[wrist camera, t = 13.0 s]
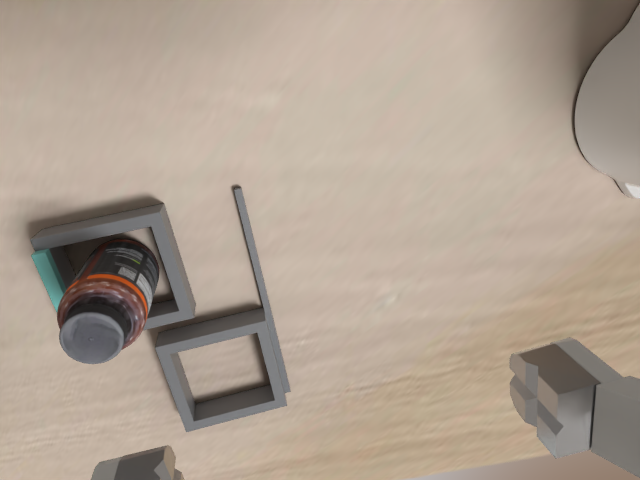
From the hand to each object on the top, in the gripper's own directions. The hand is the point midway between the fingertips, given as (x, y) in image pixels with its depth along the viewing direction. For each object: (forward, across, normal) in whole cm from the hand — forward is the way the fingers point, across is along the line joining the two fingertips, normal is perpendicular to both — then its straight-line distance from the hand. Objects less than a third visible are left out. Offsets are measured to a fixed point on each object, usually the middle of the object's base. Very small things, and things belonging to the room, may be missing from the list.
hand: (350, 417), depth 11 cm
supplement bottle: (+31, +14, +7) cm, 35 cm away
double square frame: (+31, +11, +13) cm, 35 cm away
